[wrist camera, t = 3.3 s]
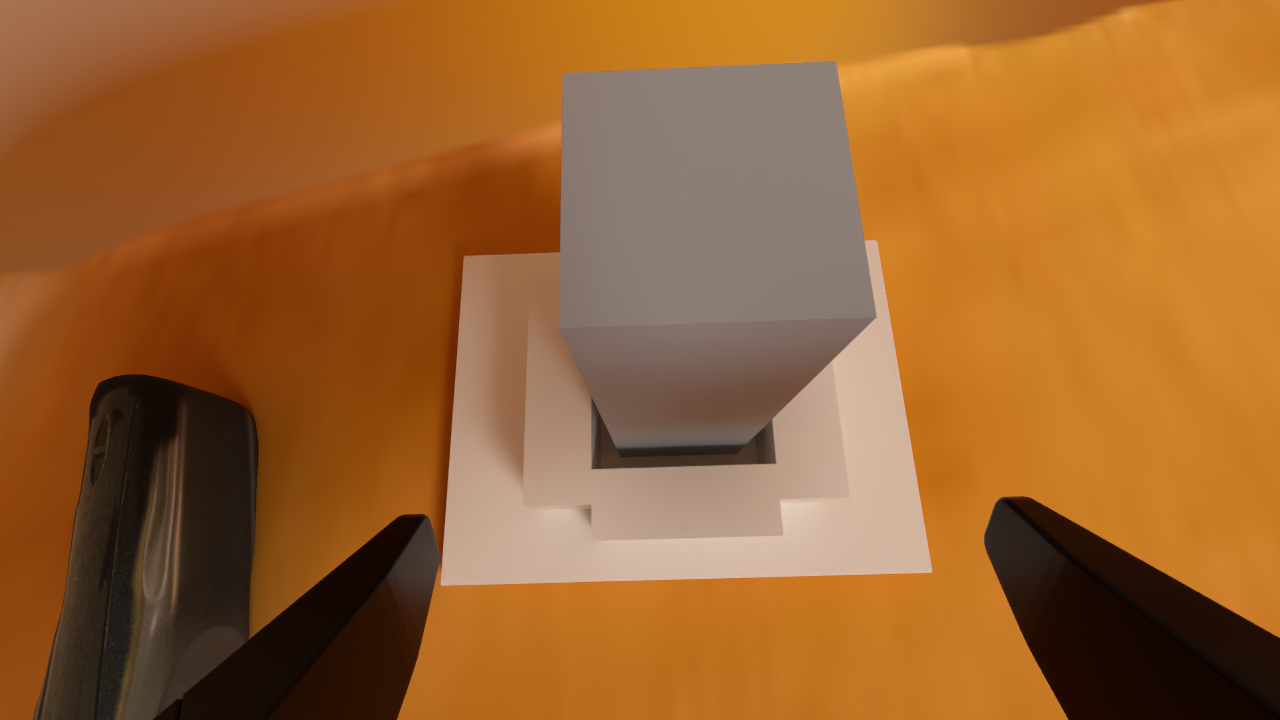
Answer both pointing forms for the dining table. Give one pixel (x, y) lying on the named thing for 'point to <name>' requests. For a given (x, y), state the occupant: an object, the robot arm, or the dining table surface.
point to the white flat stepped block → (663, 462)
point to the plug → (706, 247)
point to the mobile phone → (154, 551)
